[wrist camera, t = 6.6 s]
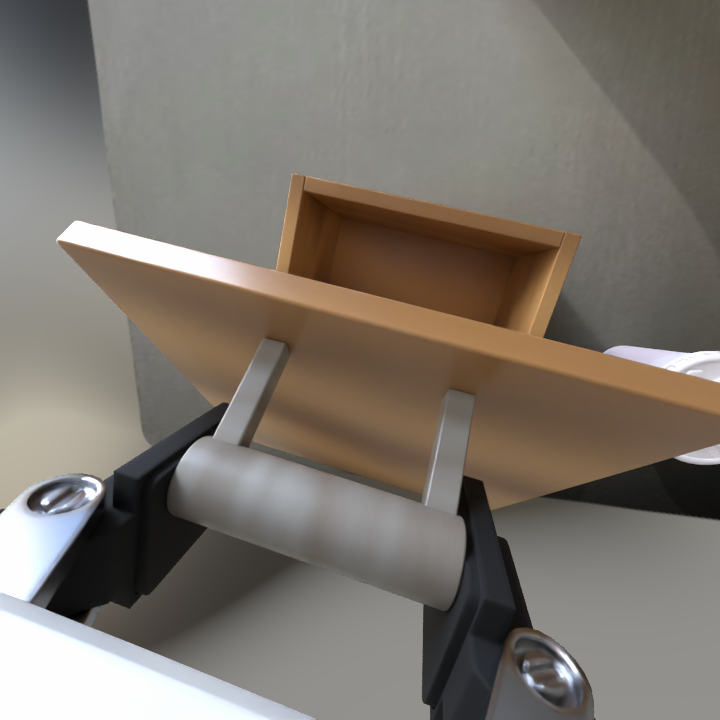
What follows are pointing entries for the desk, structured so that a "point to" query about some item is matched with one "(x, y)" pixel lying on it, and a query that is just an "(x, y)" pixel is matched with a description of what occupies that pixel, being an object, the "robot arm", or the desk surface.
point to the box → (425, 254)
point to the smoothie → (696, 364)
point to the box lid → (378, 410)
